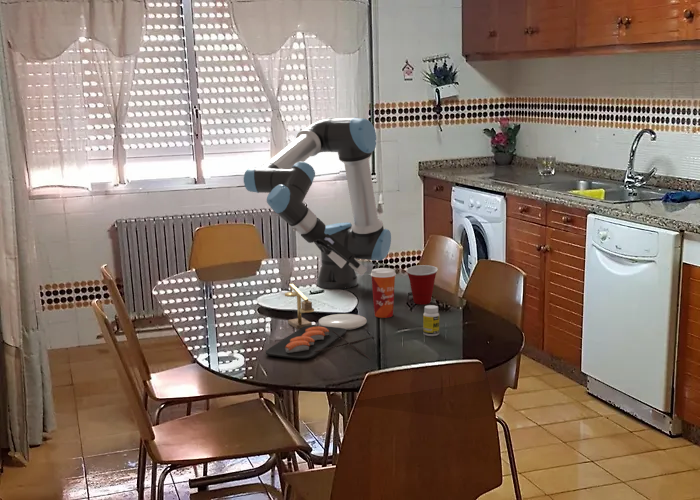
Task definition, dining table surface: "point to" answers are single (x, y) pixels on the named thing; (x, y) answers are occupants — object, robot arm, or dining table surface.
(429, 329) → the supplement bottle
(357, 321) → the white round disc
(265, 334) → the dining table surface
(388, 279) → the coffee cup
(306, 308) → the balance
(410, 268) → the plastic cup
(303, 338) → the sushi plate
